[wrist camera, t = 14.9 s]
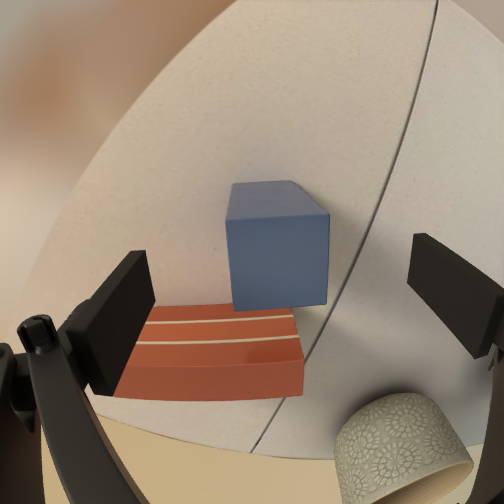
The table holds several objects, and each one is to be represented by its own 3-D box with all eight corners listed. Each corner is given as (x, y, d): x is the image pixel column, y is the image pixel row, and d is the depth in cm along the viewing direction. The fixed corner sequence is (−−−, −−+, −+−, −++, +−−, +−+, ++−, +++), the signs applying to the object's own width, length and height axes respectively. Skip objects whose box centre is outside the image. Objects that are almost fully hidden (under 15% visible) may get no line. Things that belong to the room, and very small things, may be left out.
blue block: (232, 183, 26) (225, 219, 14) (291, 180, 26) (330, 213, 14) (236, 239, 27) (233, 312, 16) (293, 236, 27) (326, 305, 16)
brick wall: (129, 306, 30) (97, 362, 21) (289, 299, 30) (305, 359, 21) (138, 339, 31) (113, 397, 23) (289, 333, 31) (303, 396, 23)
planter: (310, 410, 36) (332, 511, 22) (428, 356, 34) (483, 441, 19) (339, 459, 42) (358, 534, 27) (431, 418, 39) (466, 486, 25)
